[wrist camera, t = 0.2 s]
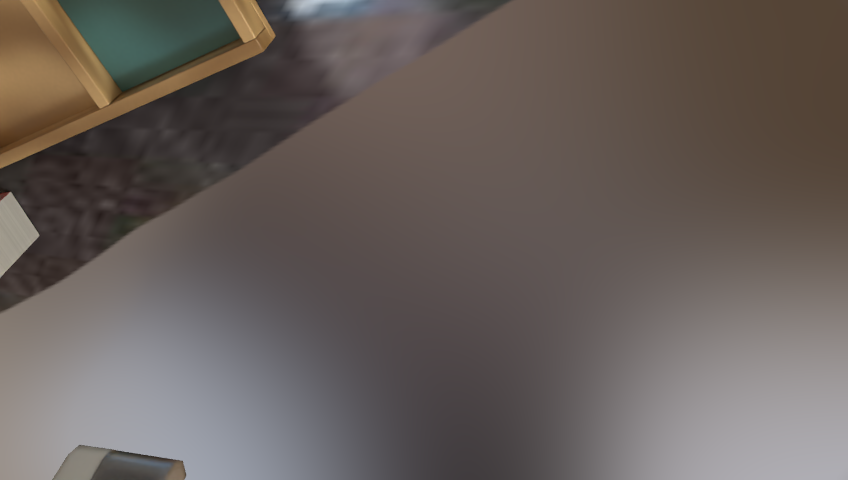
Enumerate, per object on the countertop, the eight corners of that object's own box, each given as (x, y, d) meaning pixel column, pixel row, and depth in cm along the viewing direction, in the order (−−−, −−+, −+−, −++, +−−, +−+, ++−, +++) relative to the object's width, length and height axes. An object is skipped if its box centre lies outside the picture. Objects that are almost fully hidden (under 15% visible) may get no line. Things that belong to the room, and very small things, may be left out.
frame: (-123, 2, 45) (-153, 16, 43) (160, -166, 38) (140, -159, 36) (6, 157, 50) (-16, 175, 48) (276, 36, 43) (263, 51, 41)
